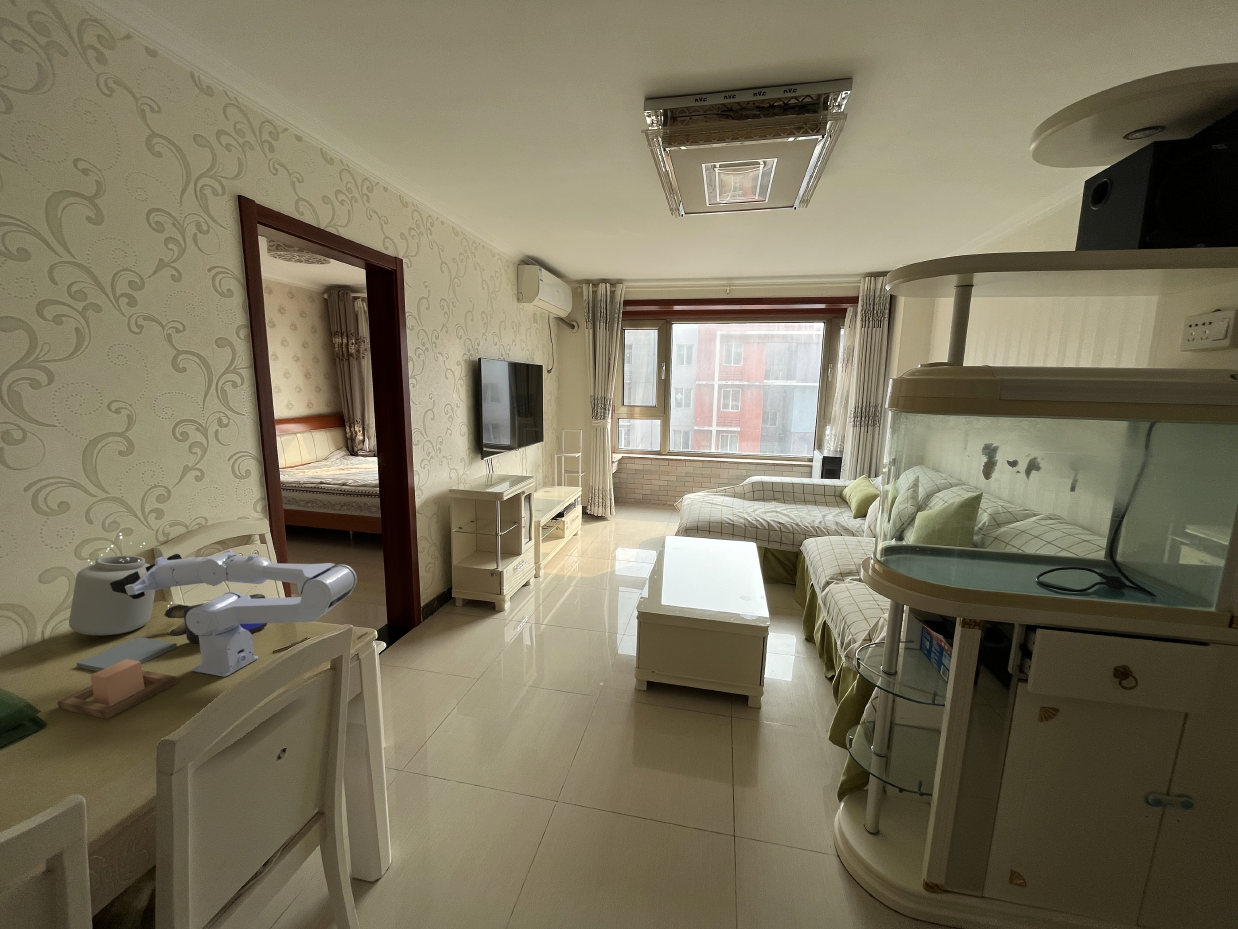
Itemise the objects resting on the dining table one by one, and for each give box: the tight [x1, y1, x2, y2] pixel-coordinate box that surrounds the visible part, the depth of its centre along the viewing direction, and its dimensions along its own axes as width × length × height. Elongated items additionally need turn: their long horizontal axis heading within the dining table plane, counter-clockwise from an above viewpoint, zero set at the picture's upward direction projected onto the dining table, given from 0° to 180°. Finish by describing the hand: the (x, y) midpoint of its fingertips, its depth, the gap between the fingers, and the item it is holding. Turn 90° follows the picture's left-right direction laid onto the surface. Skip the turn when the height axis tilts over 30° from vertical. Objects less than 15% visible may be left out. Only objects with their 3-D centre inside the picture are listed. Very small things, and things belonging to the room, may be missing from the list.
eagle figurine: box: [163, 604, 190, 637], centre depth 129 cm, size 8×7×9 cm
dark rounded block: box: [183, 593, 269, 644], centre depth 124 cm, size 16×5×9 cm, turn 123°
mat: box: [76, 636, 178, 672], centre depth 115 cm, size 12×12×1 cm
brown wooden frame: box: [57, 669, 178, 720], centre depth 101 cm, size 13×12×2 cm
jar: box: [68, 533, 173, 636], centre depth 127 cm, size 19×15×25 cm
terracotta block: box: [89, 659, 145, 706], centre depth 101 cm, size 4×6×6 cm, turn 167°
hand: (131, 578), depth 112 cm, fingers open, 7 cm apart
